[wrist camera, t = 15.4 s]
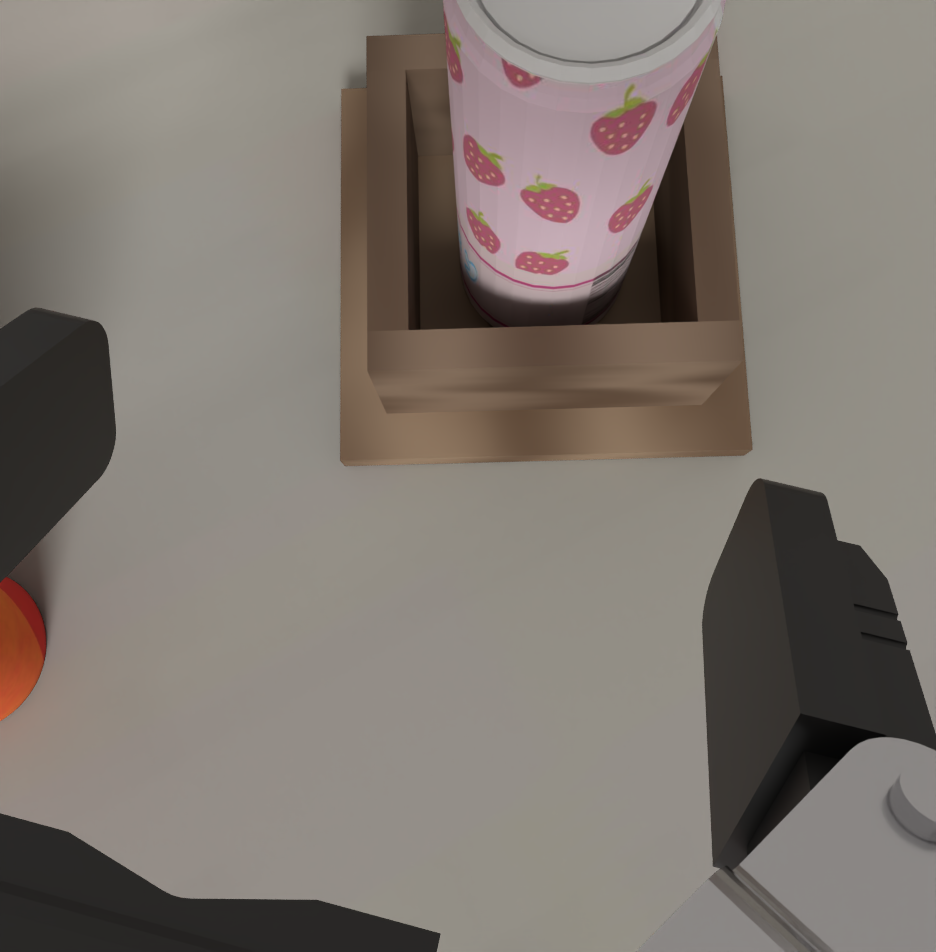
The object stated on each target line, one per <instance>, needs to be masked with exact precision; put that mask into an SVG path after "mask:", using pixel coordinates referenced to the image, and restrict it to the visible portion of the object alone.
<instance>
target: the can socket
mask: <svg viewBox="0 0 936 952" xmlns="http://www.w3.org/2000/svg"><path fill="white" fill-rule="evenodd" d="M751 450H753V449H752V437H751V425H750V413H749V400H748V388H747V376H746V363H745V351H744V339H743V327H742V314H741V302H740V290H739V277H738V265H737V253H736V241H735V228H734V216H733V204H732V191H731V179H730V167H729V155H728V142H727V130H726V118H725V105H724V93H723V81H722V76H720V69H719V57H718V45H717V35H716V37H715V40H714V43H713V45H712V48H711V51H710V53H709V56H708V59H707V61H706V64H705V67H704V69H703V72H702V75H701V77H700V80H699V82H698V85H697V88H696V90H695V93H694V96H693V98H692V101H691V104H690V106H689V109H688V112H687V114H686V117H685V120H684V122H683V125H682V127H681V130H680V133H679V135H678V138H677V141H676V143H675V146H674V149H673V151H672V154H671V157H670V159H669V162H668V164H667V167H666V170H665V172H664V175H663V178H662V180H661V183H660V186H659V188H658V191H657V194H656V196H655V199H654V202H653V204H652V207H651V209H650V212H649V215H648V217H647V220H646V223H645V225H644V228H643V231H642V233H641V236H640V239H639V241H638V244H637V247H636V249H635V252H634V254H633V257H632V260H631V262H630V265H629V268H628V270H627V273H626V276H625V278H624V281H623V284H622V286H621V289H620V291H619V293H618V295H617V298H616V300H615V302H614V304H613V305H612V307H611V308H610V309H609V311H608V312H607V313H606V315H605V316H604V317H603V318H602V319H601V320H599V321H598V322H597V323H596V324H595V325H566V326H532V327H498V328H494V327H493V326H492V325H491V324H489V323H488V322H487V321H486V320H485V319H484V318H482V317H481V315H480V314H479V313H478V312H477V310H476V309H475V308H474V306H473V305H472V304H471V302H470V299H469V297H468V295H467V293H466V291H465V289H464V284H463V280H462V275H461V266H460V251H459V236H458V221H457V205H456V190H455V175H454V160H453V145H452V130H451V114H450V99H449V84H448V69H447V54H446V38H445V33H444V34H415V35H387V36H367V88H356V89H342V96H341V412H340V461H341V462H342V463H343V464H344V465H345V466H363V465H401V464H439V463H476V462H514V461H552V460H590V459H628V458H665V457H703V456H741V455H745V454H747V453H748V452H750V451H751Z"/></svg>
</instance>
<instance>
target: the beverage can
mask: <svg viewBox="0 0 936 952" xmlns="http://www.w3.org/2000/svg"><path fill="white" fill-rule="evenodd" d="M725 1H726V0H443V8H444V23H445V38H446V54H447V69H448V84H449V99H450V114H451V130H452V145H453V160H454V175H455V190H456V205H457V221H458V236H459V251H460V266H461V275H462V280H463V284H464V289H465V291H466V293H467V295H468V297H469V299H470V302H471V304H472V305H473V306H474V308H475V309H476V310H477V312H478V313H479V314H480V315H481V317H482V318H484V319H485V320H486V321H487V322H488V323H489V324H491V325H492V326H493V327H494V328H498V327H532V326H566V325H595V324H596V323H597V322H598V321H599V320H601V319H602V318H603V317H604V316H605V315H606V313H607V312H608V311H609V309H610V308H611V307H612V305H613V304H614V302H615V300H616V298H617V295H618V293H619V291H620V289H621V286H622V284H623V281H624V278H625V276H626V273H627V270H628V268H629V265H630V262H631V260H632V257H633V254H634V252H635V249H636V247H637V244H638V241H639V239H640V236H641V233H642V231H643V228H644V225H645V223H646V220H647V217H648V215H649V212H650V209H651V207H652V204H653V202H654V199H655V196H656V194H657V191H658V188H659V186H660V183H661V180H662V178H663V175H664V172H665V170H666V167H667V164H668V162H669V159H670V157H671V154H672V151H673V149H674V146H675V143H676V141H677V138H678V135H679V133H680V130H681V127H682V125H683V122H684V120H685V117H686V114H687V112H688V109H689V106H690V104H691V101H692V98H693V96H694V93H695V90H696V88H697V85H698V82H699V80H700V77H701V75H702V72H703V69H704V67H705V64H706V61H707V59H708V56H709V53H710V51H711V48H712V45H713V43H714V40H715V37H716V35H717V32H718V30H719V27H720V24H721V22H722V17H723V11H724V6H725Z"/></svg>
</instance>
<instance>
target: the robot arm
mask: <svg viewBox="0 0 936 952" xmlns="http://www.w3.org/2000/svg"><path fill="white" fill-rule="evenodd" d="M115 439H116V424H115V413H114V402H113V391H112V379H111V368H110V357H109V346H108V339H107V335H106V332H105V330H104V328H103V327H102V325H101V324H100V323H98V322H96V321H93V320H89V319H84V318H80V317H76V316H72V315H67V314H63V313H59V312H54V311H50V310H46V309H42V308H33V309H30V310H28V311H26V312H25V313H23V314H22V315H20V316H19V317H17V318H16V319H14V320H13V321H11V322H10V323H8V324H7V325H5V326H4V327H3V328H1V329H0V583H1V582H2V581H3V579H4V578H5V577H6V576H7V575H8V574H9V573H10V572H11V571H12V570H13V569H14V568H15V567H16V566H17V565H18V564H19V563H20V562H21V560H22V559H23V558H24V557H25V556H26V555H27V554H28V553H29V552H30V551H31V550H32V549H33V548H34V547H35V546H36V545H37V544H38V543H39V541H40V540H41V539H42V538H43V537H44V536H45V535H46V534H47V533H48V532H49V531H50V530H51V529H52V528H53V527H54V526H55V525H56V524H57V522H58V521H59V520H60V519H61V518H62V517H63V516H64V515H65V514H66V513H67V512H68V511H69V510H70V509H71V508H72V507H73V506H74V505H75V503H76V502H77V501H78V500H79V499H80V498H81V497H82V496H83V495H84V494H85V493H86V492H87V491H88V490H89V489H90V488H91V487H92V486H93V484H94V483H95V482H96V481H97V480H98V479H99V478H100V477H101V476H102V474H103V473H104V471H105V470H106V468H107V466H108V464H109V462H110V459H111V456H112V453H113V450H114V445H115ZM897 616H898V611H897V608H896V605H895V602H894V599H893V595H892V592H891V589H890V586H889V583H888V580H887V578H886V577H885V576H884V575H883V573H882V572H881V571H880V570H879V569H878V567H877V566H876V565H875V564H874V562H873V561H872V560H871V559H870V557H869V556H868V555H867V554H866V552H865V551H864V550H863V549H862V548H861V546H859V545H855V544H850V543H846V542H842V541H838V540H837V537H836V533H835V529H834V525H833V522H832V518H831V514H830V510H829V506H828V502H827V499H826V496H825V495H824V494H823V493H820V492H816V491H812V490H808V489H803V488H799V487H795V486H791V485H786V484H782V483H778V482H773V481H769V480H765V479H761V478H760V479H757V480H756V481H755V482H754V483H753V484H752V486H751V487H750V489H749V491H748V493H747V495H746V497H745V500H744V502H743V505H742V507H741V509H740V512H739V514H738V516H737V519H736V521H735V523H734V526H733V528H732V530H731V533H730V535H729V538H728V540H727V542H726V545H725V547H724V549H723V552H722V554H721V556H720V559H719V561H718V563H717V566H716V568H715V570H714V573H713V575H712V578H711V581H710V584H709V587H708V591H707V595H706V599H705V604H704V611H703V621H702V633H703V655H704V677H705V700H706V722H707V744H708V766H709V789H710V811H711V833H712V856H713V867H717V868H720V869H719V870H718V871H716V872H715V873H714V874H713V875H712V876H711V877H710V878H708V879H707V880H706V881H705V882H704V883H703V884H702V885H701V886H700V887H699V888H698V889H697V890H696V891H695V892H694V893H693V894H692V895H691V896H690V897H689V898H688V899H687V900H686V901H685V902H684V903H683V904H682V905H681V906H680V907H679V908H678V909H677V910H676V911H675V912H674V913H673V914H672V915H671V916H670V917H669V918H668V919H667V920H666V921H665V922H664V924H663V925H662V926H661V927H660V928H659V929H658V930H657V931H656V932H655V933H654V934H653V935H652V936H651V937H650V938H649V939H648V940H647V941H646V942H645V943H644V944H643V945H642V946H641V947H640V948H639V949H638V950H637V951H636V952H936V733H935V730H934V727H933V724H932V721H931V717H930V714H929V711H928V708H927V705H926V701H925V698H924V695H923V692H922V688H921V685H920V682H919V679H918V676H917V672H916V669H915V666H914V663H913V660H912V656H911V653H910V650H906V645H907V640H906V637H905V634H904V631H903V627H902V624H901V621H898V620H897ZM439 938H440V933H436V932H432V931H429V930H425V929H422V928H418V927H414V926H411V925H407V924H403V923H400V922H396V921H392V920H389V919H385V918H381V917H378V916H374V915H370V914H367V913H363V912H359V911H356V910H352V909H348V908H345V907H341V906H337V905H334V904H330V903H326V902H323V901H319V900H268V899H188V898H180V897H176V896H173V895H170V894H168V893H166V892H164V891H163V890H161V889H159V888H158V887H156V886H155V885H153V884H151V883H150V882H148V881H147V880H145V879H143V878H142V877H140V876H138V875H137V874H135V873H134V872H132V871H130V870H129V869H127V868H126V867H124V866H122V865H121V864H119V863H117V862H116V861H114V860H113V859H111V858H109V857H108V856H106V855H105V854H103V853H101V852H100V851H98V850H97V849H95V848H93V847H92V846H90V845H88V844H87V843H85V842H84V841H82V840H80V839H79V838H77V837H76V836H74V835H72V834H71V833H69V832H66V831H63V830H59V829H55V828H52V827H48V826H44V825H41V824H37V823H33V822H30V821H26V820H22V819H19V818H15V817H11V816H8V815H4V814H0V952H437V948H438V943H439Z"/></svg>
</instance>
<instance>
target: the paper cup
mask: <svg viewBox="0 0 936 952" xmlns="http://www.w3.org/2000/svg"><path fill="white" fill-rule="evenodd" d="M45 654H46V631H45V626H44V622H43V619H42V616H41V613H40V611H39V609H38V607H37V605H36V603H35V602H34V600H33V599H32V597H31V596H30V595H29V594H28V593H27V591H26V590H25V589H24V588H22V587H21V586H20V585H19V584H17V583H16V582H15V581H13V580H11V579H10V578H8V577H5V578H4V579H3V581H2V582H1V583H0V721H1V720H2V719H4V718H6V717H7V716H8V715H10V714H11V713H12V712H14V711H15V710H16V709H17V708H18V707H19V706H20V705H21V704H22V703H23V702H24V701H25V699H26V698H27V697H28V696H29V694H30V693H31V691H32V690H33V688H34V686H35V685H36V683H37V681H38V678H39V676H40V674H41V671H42V668H43V664H44V660H45Z"/></svg>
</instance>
